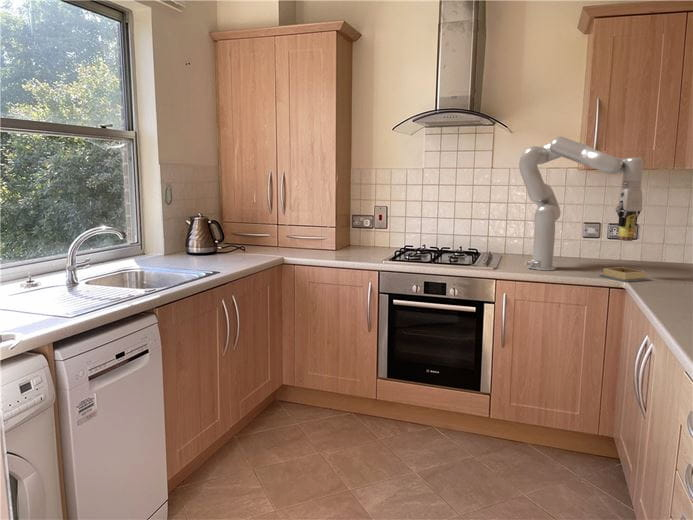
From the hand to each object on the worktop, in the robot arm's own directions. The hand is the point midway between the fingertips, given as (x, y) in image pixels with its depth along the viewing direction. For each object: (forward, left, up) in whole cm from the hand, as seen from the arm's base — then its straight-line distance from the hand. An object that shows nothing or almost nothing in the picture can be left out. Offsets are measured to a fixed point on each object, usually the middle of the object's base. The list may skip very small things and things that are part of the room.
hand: (627, 225), depth 236 cm
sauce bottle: (0, 0, -7) cm, 7 cm away
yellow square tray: (-1, -2, -24) cm, 24 cm away
